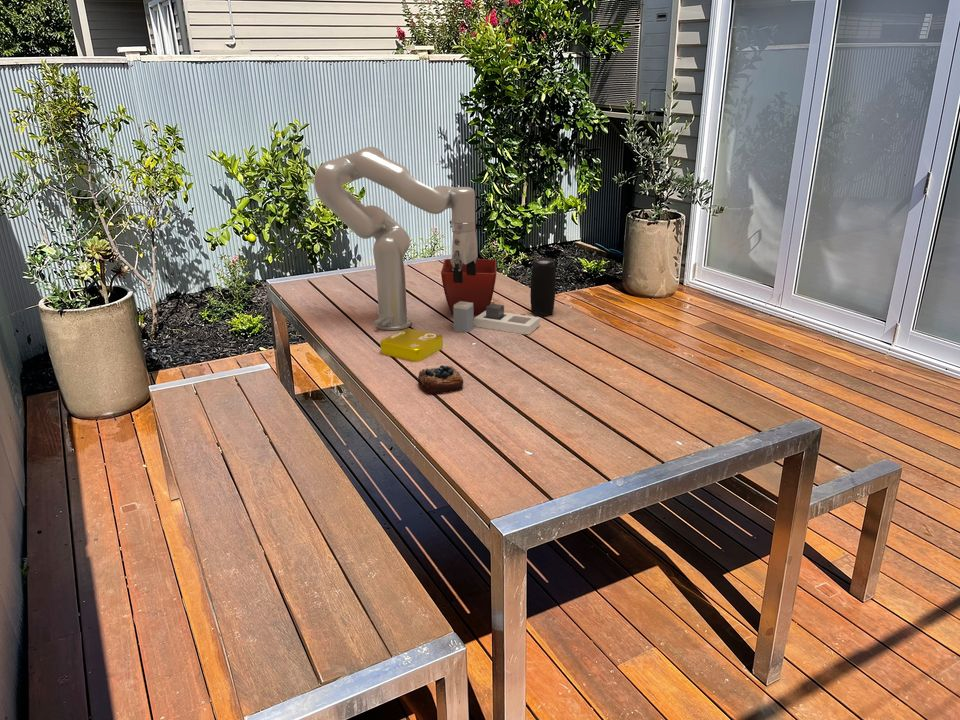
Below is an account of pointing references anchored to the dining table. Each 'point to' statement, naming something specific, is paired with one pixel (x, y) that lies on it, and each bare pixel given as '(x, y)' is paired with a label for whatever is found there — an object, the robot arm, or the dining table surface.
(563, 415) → the dining table surface
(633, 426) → the dining table surface
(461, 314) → the plug
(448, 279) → the plant pot
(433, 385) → the pastry
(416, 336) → the element tile
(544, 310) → the portable speaker
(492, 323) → the power strip
